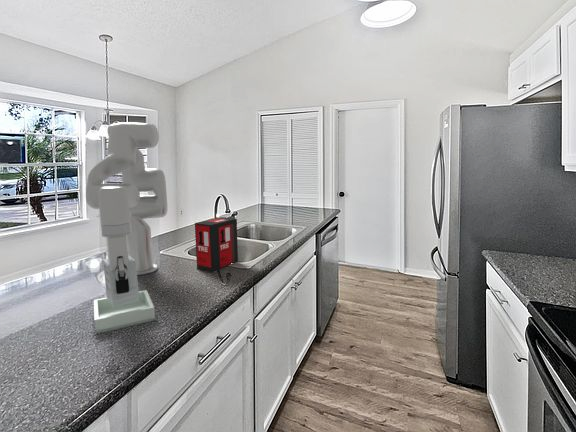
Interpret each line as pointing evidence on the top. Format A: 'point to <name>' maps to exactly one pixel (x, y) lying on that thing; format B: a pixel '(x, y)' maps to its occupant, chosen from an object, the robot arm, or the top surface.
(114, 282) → the supplement box
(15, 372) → the top surface
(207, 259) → the cleaning product box
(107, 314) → the tray
